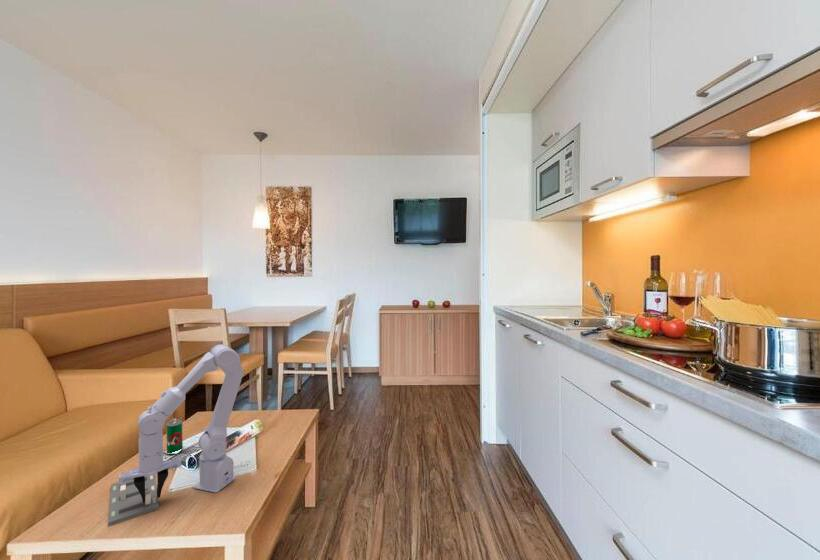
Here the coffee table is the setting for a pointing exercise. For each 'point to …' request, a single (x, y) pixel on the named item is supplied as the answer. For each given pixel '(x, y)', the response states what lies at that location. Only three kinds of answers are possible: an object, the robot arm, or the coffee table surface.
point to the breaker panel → (131, 500)
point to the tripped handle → (147, 497)
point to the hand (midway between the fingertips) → (151, 498)
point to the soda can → (174, 435)
